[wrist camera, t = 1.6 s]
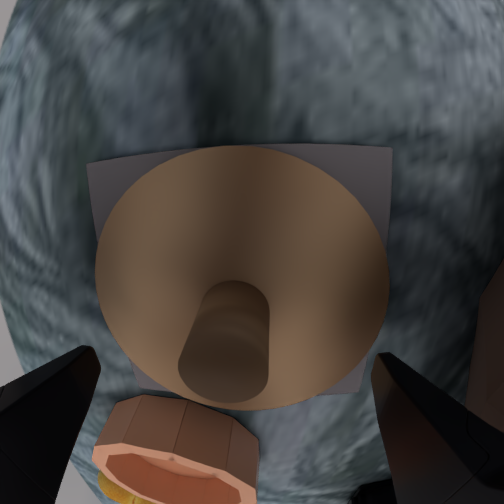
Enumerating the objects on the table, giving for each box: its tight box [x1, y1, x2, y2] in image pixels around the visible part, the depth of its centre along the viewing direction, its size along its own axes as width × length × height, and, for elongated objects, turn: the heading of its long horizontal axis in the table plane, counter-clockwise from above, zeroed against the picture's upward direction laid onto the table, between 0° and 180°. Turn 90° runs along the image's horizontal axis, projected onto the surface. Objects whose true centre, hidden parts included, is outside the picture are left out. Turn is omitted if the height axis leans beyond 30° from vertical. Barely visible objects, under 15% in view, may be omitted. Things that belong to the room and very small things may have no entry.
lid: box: [95, 146, 390, 410], centre depth 10 cm, size 12×12×4 cm
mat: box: [86, 144, 392, 396], centre depth 12 cm, size 12×12×1 cm
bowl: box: [92, 394, 260, 504], centre depth 16 cm, size 11×11×4 cm
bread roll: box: [98, 470, 156, 504], centre depth 20 cm, size 8×9×4 cm
